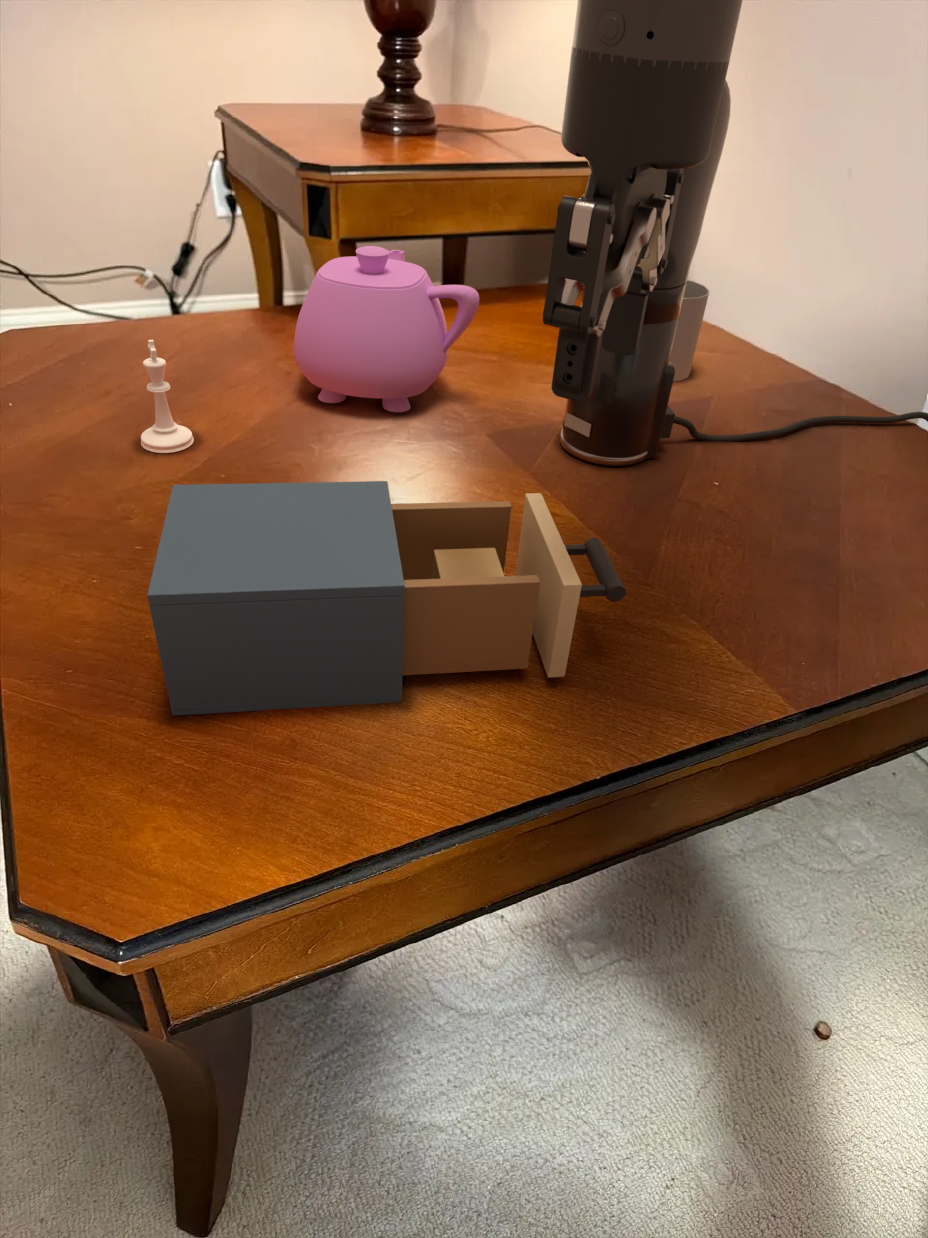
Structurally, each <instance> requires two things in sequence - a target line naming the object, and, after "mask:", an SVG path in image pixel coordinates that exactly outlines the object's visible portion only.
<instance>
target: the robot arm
mask: <svg viewBox="0 0 928 1238" xmlns="http://www.w3.org/2000/svg"><path fill="white" fill-rule="evenodd" d="M742 5H743V0H577V2H576V10H575V11H576V12H575V17H574V27H573V34H572V42H571V51H570V60H569V67H568V77H567V86H566V93H565V100H564V101H565V102H564V110H563V119H562V126H561V135H560V136H561V137H560V140H561V144H562V146H563V148H564V149H565V150H566V151H567V152H568V153H569V154H571V155H573V156H575V157H578V158H585V160H586V161H587V163H588V167H589V170H590V174H589V176H588V180H587V184H586V188H585V191H584V194H583V195H581V196H580V198H579V197H574V196H569V195H563V196H562V197H561V199H560V201H559V204H558V206H557V211H556V213H557V214H556V221H555V227H554V236H553V242H552V249H551V257H550V263H549V271H548V278H547V285H546V293H545V300H544V304H543V305H544V307H543V311H542V323H543V325H546V326H549V327H554V328H557V329H558V335H557V343H556V350H555V358H554V365H553V372H552V374H553V375H552V379H551V391H552V393H553V394H554V395H555V396H556V397H559V398H563V399H566V402H565V403H566V404H565V410H564V416H563V421H562V428H561V431H560V438H559V442H560V444H561V446H562V448H563V449H564V450H565V451H567V453H568V454H570V455H572V456H574V457H576V458H578V459H580V460H582V461H585V462H588V463H592V464H595V465H596V464H597V465H602V466H612V467H614V466H616V467H619V466H630V465H631V466H632V465H635V464H638V463H641V462H643V461H644V460H647V459H655V458H657V454H658V450H659V446H660V445H659V444H660V441H661V439H670V438H671V434H672V430H673V425H674V424H675V425H679V426H681V427H683V428H685V429H687V431H688V432H689V434H690V436H691V437H692V438H694V439H696V440H699V441H702V442H714V443H715V442H716V443H717V442H719V443H720V442H722V443H723V442H724V443H734V442H736V443H738V442H747V441H754V440H759V439H768V438H774V437H778V436H783V435H787V434H789V433H792V432H794V431H797V430H799V429H802V428H804V427H808V426H812V425H818V424H828V423H854V424H857V423H859V424H894V423H899V422H904V421H910V420H916V419H921V420H925V421H926V422H927V423H928V412H925V411H913V412H907V413H903V414H898V415H893V416H892V415H891V416H869V415H867V416H865V415H825V416H824V415H823V416H815V417H810V418H805V419H802V420H799V421H797V422H794V423H791V424H789V425H786V426H783V427H779V428H775V429H774V428H773V429H769V430H761V431H754V432H748V433H740V434H732V435H715V434H714V435H712V434H708V433H704V432H700V431H698V430H697V428H696V426H695V425H694V423H693V422H692V421H690V420H688V419H686V418H684V417H679V416H676V414H675V411H673V409H672V408H671V407H670V406H669V402H670V398H671V393H672V389H673V385H674V384H673V383H674V381H673V380H674V376H675V367H674V366H673V364H672V363H671V362H670V361H669V360H670V356H671V351H672V346H673V342H674V337H675V333H676V328H677V324H678V319H679V314H680V310H681V305H682V301H683V296H684V292H685V287H686V283H687V280H689V279H688V278H689V275H690V271H691V266H692V263H693V259H694V257H695V253H696V250H697V248H698V245H699V240H700V237H701V233H702V229H703V225H704V220H705V216H706V213H707V209H708V205H709V201H710V197H711V193H712V190H713V186H714V182H715V179H716V176H717V173H718V168H719V165H720V162H721V158H722V155H723V151H724V147H725V142H726V139H727V134H728V130H729V125H730V118H731V110H732V109H731V108H732V98H731V97H732V96H731V89H730V86H729V83H728V80H727V74H728V69H729V65H730V60H731V55H732V51H733V48H734V47H733V46H734V42H735V38H736V34H737V28H738V24H739V19H740V15H741V10H742ZM581 292H582V295H581V303H580V305H576V303H577V299H578V296H579V294H580V293H581Z"/></svg>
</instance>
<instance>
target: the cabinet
mask: <svg viewBox="0 0 928 1238" xmlns="http://www.w3.org/2000/svg"><path fill="white" fill-rule="evenodd" d="M391 504H392V502H391V495H390V489H389V483H388V481H387V480H376V481H375V480H374V481H373V480H372V481H371V480H369V481H368V480H367V481H366V480H365V481H319V482H317V481H315V482H314V481H313V482H312V481H311V482H310V481H309V482H262V483H261V482H259V483H257V482H256V483H255V482H253V483H211V484H210V483H206V484H205V483H203V484H199V483H198V484H197V483H195V484H173V485H172V487H171V491H170V496H169V499H168V504H167V508H166V512H165V517H164V522H163V525H162V531H161V534H160V537H159V542H158V547H157V551H156V554H155V555H156V556H155V560H154V564H153V569H152V572H151V577H150V582H149V585H148V590H147V594H146V596H147V601H148V605H149V606H148V607H149V611H150V615H151V616H150V617H151V621H152V625H153V630H154V634H155V640H156V644H157V650H158V653H159V659H160V663H161V669H162V672H163V678H164V682H165V688H166V692H167V696H168V701H169V706H170V712H171V716H174V717H176V716H190V715H192V716H193V715H207V714H208V715H210V714H224V713H225V714H226V713H240V712H241V713H242V712H259V711H276V710H291V709H292V710H293V709H308V708H309V709H310V708H311V709H312V708H324V707H326V708H327V707H342V706H361V705H374V704H375V705H376V704H377V705H378V704H392V703H393V704H394V703H402V701H403V675H402V670H403V633H404V594H405V584H404V578H403V572H402V566H401V560H400V554H399V548H398V542H397V536H396V530H395V524H394V518H393V512H392V506H391Z"/></svg>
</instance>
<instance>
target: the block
mask: <svg viewBox="0 0 928 1238" xmlns="http://www.w3.org/2000/svg"><path fill="white" fill-rule="evenodd" d="M500 576H505V572H504V573H503V570H502V567H501V564H500V561H499V558H498V555H497V552H496V549H495V548H471V549H441V550H434V555H433V575H432V579H446V578H473V577H500Z"/></svg>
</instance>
